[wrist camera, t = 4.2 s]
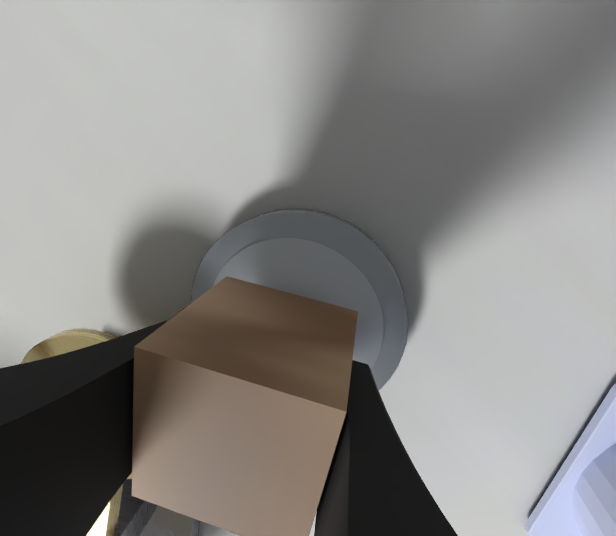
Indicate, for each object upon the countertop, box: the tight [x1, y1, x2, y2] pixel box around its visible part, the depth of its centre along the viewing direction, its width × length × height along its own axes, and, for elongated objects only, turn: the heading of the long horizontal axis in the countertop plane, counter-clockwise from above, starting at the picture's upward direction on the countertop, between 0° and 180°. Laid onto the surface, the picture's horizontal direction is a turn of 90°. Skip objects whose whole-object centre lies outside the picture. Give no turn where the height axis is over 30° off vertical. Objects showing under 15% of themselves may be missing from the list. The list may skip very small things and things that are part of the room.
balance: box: [21, 329, 200, 536], centre depth 14 cm, size 21×6×6 cm, turn 169°
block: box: [132, 276, 358, 536], centre depth 8 cm, size 4×4×4 cm
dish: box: [191, 209, 408, 390], centre depth 12 cm, size 8×8×1 cm
